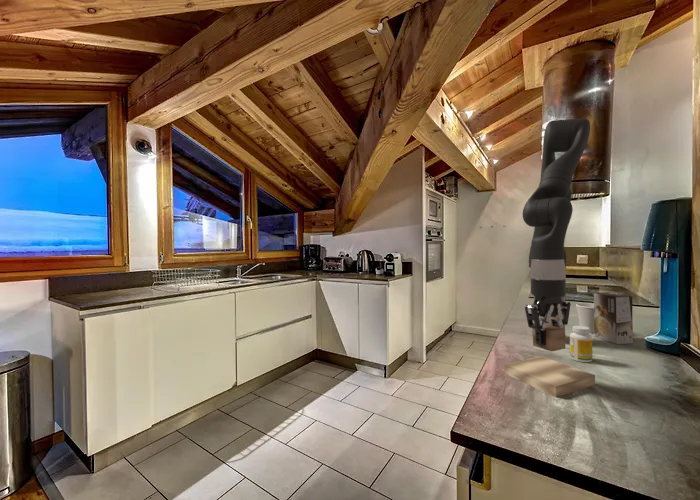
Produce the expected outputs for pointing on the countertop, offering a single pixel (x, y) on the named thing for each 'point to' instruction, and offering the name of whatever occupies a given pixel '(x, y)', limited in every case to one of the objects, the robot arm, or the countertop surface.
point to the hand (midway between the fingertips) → (548, 343)
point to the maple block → (550, 375)
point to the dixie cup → (586, 315)
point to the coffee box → (613, 317)
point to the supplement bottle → (581, 344)
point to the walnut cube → (552, 338)
